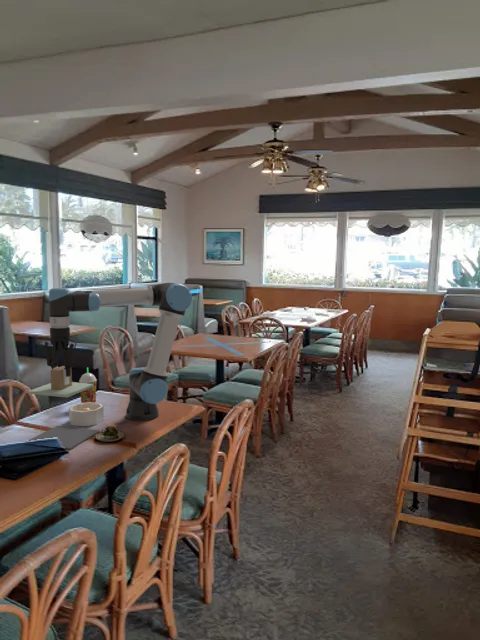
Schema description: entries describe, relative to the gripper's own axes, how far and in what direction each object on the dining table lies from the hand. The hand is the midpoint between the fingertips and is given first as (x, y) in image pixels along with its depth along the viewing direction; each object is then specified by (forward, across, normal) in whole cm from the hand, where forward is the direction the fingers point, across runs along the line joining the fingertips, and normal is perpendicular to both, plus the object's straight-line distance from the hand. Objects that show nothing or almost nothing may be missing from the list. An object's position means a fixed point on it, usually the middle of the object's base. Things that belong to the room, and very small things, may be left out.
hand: (61, 383), depth 196 cm
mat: (+23, 0, 0) cm, 23 cm away
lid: (+3, 0, 0) cm, 3 cm away
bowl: (+23, -3, +21) cm, 31 cm away
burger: (+23, +19, +4) cm, 30 cm away
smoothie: (+23, -14, +40) cm, 48 cm away
